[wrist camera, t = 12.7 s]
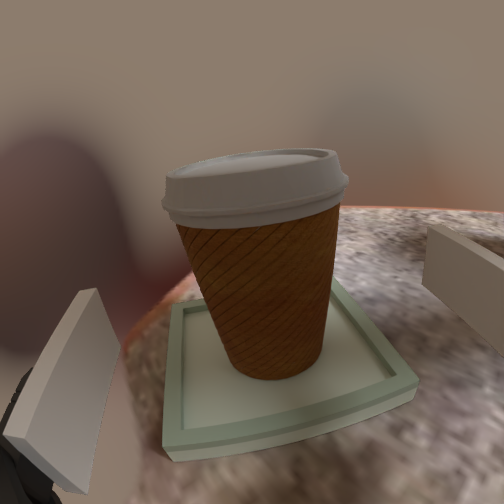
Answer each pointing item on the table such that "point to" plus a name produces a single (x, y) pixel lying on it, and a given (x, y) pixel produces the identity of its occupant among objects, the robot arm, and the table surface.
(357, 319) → the coaster plate
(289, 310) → the disposable coffee cup
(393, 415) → the table surface
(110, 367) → the robot arm
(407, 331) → the table surface
